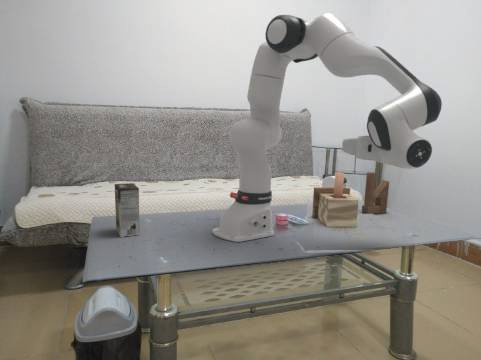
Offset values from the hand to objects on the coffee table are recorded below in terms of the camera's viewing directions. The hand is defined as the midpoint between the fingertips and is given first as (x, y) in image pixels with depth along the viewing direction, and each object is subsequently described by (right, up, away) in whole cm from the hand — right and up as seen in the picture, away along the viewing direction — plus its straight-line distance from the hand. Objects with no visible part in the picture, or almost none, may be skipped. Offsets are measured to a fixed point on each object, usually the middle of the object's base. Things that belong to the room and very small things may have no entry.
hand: (365, 144), depth 118 cm
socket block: (-4, -27, +20) cm, 34 cm away
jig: (-4, -29, +17) cm, 34 cm away
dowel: (-4, -23, +20) cm, 30 cm away
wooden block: (+17, -26, +40) cm, 51 cm away
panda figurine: (0, -25, +46) cm, 52 cm away
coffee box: (-79, -29, +5) cm, 84 cm away
